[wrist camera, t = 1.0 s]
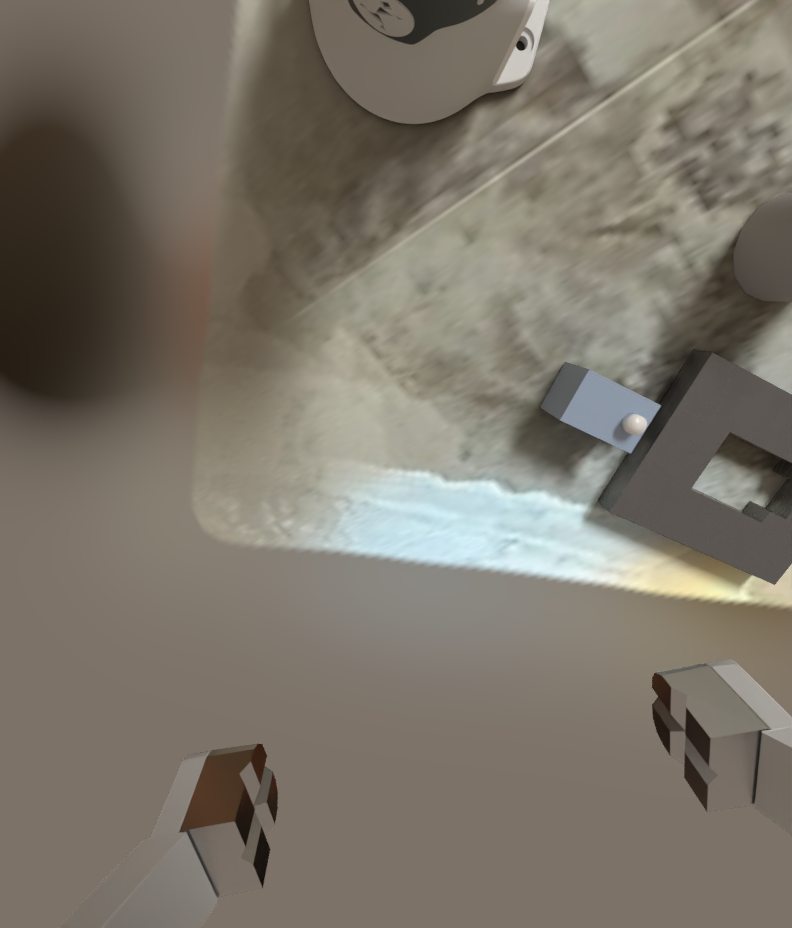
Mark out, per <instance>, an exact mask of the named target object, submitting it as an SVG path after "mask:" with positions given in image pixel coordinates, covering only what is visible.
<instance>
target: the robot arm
mask: <svg viewBox="0 0 792 928" xmlns="http://www.w3.org/2000/svg"><path fill="white" fill-rule="evenodd" d="M549 3H550V0H309V5H310V11H311V17H312V23H313V28H314V32H315V36H316V39H317V42H318V45H319V48H320V51H321V53H322V56H323V58H324V60H325V62H326V64H327V66H328V68H329V70H330V71H331V73H332V75H333V76H334V78H335V79H336V81H337V82H338V83H339V85H340V86H341V87H342V88H343V89H344V91H345V92H346V93H347V94H348V95H349V96H350V97H351V98H352V99H353V100H354V101H356V102H357V103H358V104H359V105H361V106H362V107H363V108H365V109H366V110H368V111H370V112H371V113H373V114H375V115H377V116H379V117H382V118H384V119H387V120H390V121H394V122H398V123H404V124H423V123H429V122H434V121H437V120H441V119H443V118H446V117H448V116H450V115H452V114H454V113H456V112H458V111H459V110H461V109H463V108H464V107H465V106H467V105H468V104H470V103H471V102H472V101H474V100H475V99H477V98H479V97H480V96H482V95H484V94H486V93H493V92H499V91H505V90H509V89H513V88H516V87H518V86H520V85H521V84H523V83H524V82H525V80H526V79H527V77H528V75H529V73H530V71H531V68H532V65H533V62H534V58H535V55H536V51H537V47H538V44H539V40H540V36H541V33H542V29H543V25H544V22H545V18H546V14H547V11H548V7H549ZM518 41H521V42H523V44H524V46H525V50H523V51H520V50H518V49H517V48H516V44H517V42H518ZM652 688H653V689H654V691H655V693H656V694H657V695H658V698H657V699H656V700H655V702H654V703H653V704H652V713H653V720H654V724H655V727H656V731H657V733H658V735H659V738H660V740H661V741H662V743H663V745H664V747H665V749H666V750H667V752H668V753H669V755H670V756H671V757H673V758H674V759H676V760H678V761H679V762H681V763H682V764H684V778H685V779H686V781H687V782H688V784H689V785H690V787H691V788H692V790H693V792H694V793H695V795H696V796H697V798H698V799H699V801H700V802H701V804H702V805H703V807H704V808H705V810H706V811H707V812H711V811H718V810H725V809H733V808H740V807H746V806H754V805H755V807H754V808H755V809H756V810H757V811H759V812H760V813H762V814H763V815H764V816H766V817H767V818H768V819H770V820H771V821H773V822H774V823H775V824H777V825H778V826H779V827H781V828H782V829H784V830H785V831H786V832H788V833H789V834H790V835H792V717H791V716H790V715H789V714H788V713H787V712H786V711H785V710H784V709H783V708H782V707H781V706H780V705H779V704H778V703H777V702H776V701H775V700H774V699H773V698H772V697H771V696H770V695H769V694H767V692H766V691H764V689H762V687H760V686H759V685H758V684H757V683H756V682H755V681H754V680H753V679H752V678H751V677H750V676H749V675H748V674H747V673H746V672H745V671H744V670H743V669H742V668H741V667H740V666H739V665H738V664H737V663H736V662H734V661H732V660H730V659H727V660H721V661H716V662H710V663H705V664H698V665H693V666H688V667H682V668H677V669H672V670H666V671H661V672H656V673H654V675H653V677H652ZM266 758H267V754H266V752H265V749H264V747H263V744H251V745H244V746H238V747H231V748H224V749H217V750H212V751H206V752H200V753H193V754H188V755H187V756H186V758H185V759H184V760H183V761H182V762H181V765H180V767H179V769H178V772H177V774H176V777H175V779H174V781H173V784H172V786H171V789H170V791H169V793H168V796H167V799H166V801H165V803H164V805H163V808H162V810H161V812H160V815H159V817H158V820H157V822H156V824H155V827H154V829H153V832H152V834H151V836H150V838H146V839H142V840H141V841H140V843H138V844H137V845H136V847H134V849H133V850H132V851H131V852H130V853H129V854H128V855H127V856H126V857H125V858H124V859H123V860H122V861H121V862H120V863H119V864H118V865H117V866H116V867H115V868H114V870H113V871H112V872H111V873H110V874H109V875H108V876H107V877H106V878H105V879H104V880H103V881H102V882H101V883H100V884H99V885H98V887H96V888H95V889H94V891H93V892H92V893H91V894H90V895H89V896H88V897H87V898H86V899H85V900H84V901H83V902H82V903H81V904H80V905H79V906H78V908H76V909H75V911H74V912H73V913H72V914H71V915H70V916H69V917H68V918H67V919H66V920H65V921H64V922H63V923H62V924H61V925H60V926H59V927H58V928H201V927H202V925H203V924H204V923H205V921H206V920H207V918H208V916H209V915H210V913H211V912H212V910H213V909H214V907H215V905H216V904H217V902H218V897H223V896H228V895H233V894H238V893H243V892H248V891H252V890H257V889H262V888H263V885H264V879H265V874H266V869H267V864H268V858H269V853H270V847H269V844H268V842H267V839H266V836H267V835H268V833H269V832H270V831H271V829H272V828H273V827H274V825H275V820H276V815H277V809H278V806H277V805H278V790H277V785H276V779H275V776H274V773H273V771H271V770H270V769H268V768H267V767H265V763H266Z"/></svg>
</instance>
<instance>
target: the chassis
mask: <svg viewBox="0 0 792 928" xmlns="http://www.w3.org/2000/svg"><path fill="white" fill-rule="evenodd" d="M659 405H661V407H660V408H659V410H658V411H657V413H656V415H655V416H654V418H653V419H652V421H651V422H650V424H649V426H648V427H647V429H646V430H645V432H644V434H643V435H642V437H641V438H640V440H639V441H638V443H637V445H636V446H635V448H634V449H633V451H632V452H631V454H630V453H628V454H627V456H626V458H625V459H624V461H623V462H622V464H621V465H620V467H619V469H618V470H617V472H616V473H615V475H614V477H613V478H612V480H611V481H610V483H609V484H608V486H607V488H606V489H605V491H604V492H603V494H602V495H601V497H600V499H599V500H598V502H599V503H600V504H601V505H603V506H604V507H605V508H606V509H607V510H608V511H609V512H611V513H613V514H616V515H618V516H620V517H622V518H625V519H627V520H629V521H631V522H634V523H636V524H638V525H641V526H643V527H645V528H647V529H650V530H652V531H654V532H656V533H659V534H661V535H663V536H665V537H668V538H670V539H672V540H675V541H677V542H679V543H681V544H684V545H686V546H688V547H690V548H693V549H695V550H697V551H699V552H702V553H704V554H706V555H709V556H711V557H713V558H715V559H718V560H720V561H722V562H724V563H727V564H729V565H731V566H733V567H736V568H738V569H740V570H743V571H745V572H747V573H749V574H752V575H754V576H756V577H758V578H761V579H763V580H765V581H767V582H770V583H772V584H774V585H775V584H776V583H777V581H778V580H779V579H780V578H781V576H782V575H783V574H784V573H785V571H786V570H787V569H788V567H789V566H790V565H791V564H792V395H791V394H789V393H787V392H786V391H784V390H782V389H780V388H778V387H776V386H774V385H773V384H771V383H769V382H767V381H765V380H763V379H761V378H759V377H758V376H756V375H754V374H752V373H750V372H748V371H746V370H744V369H743V368H741V367H739V366H737V365H735V364H733V363H731V362H730V361H728V360H726V359H724V358H722V357H720V356H718V355H716V354H715V353H713V352H706V351H700V350H693V352H692V353H691V355H690V356H689V358H688V359H687V361H686V363H685V364H684V366H683V367H682V369H681V371H680V372H679V374H678V375H677V377H676V378H675V380H674V382H673V383H672V385H671V386H670V388H669V390H668V391H667V393H666V394H665V396H664V397H663V399H662V401H661V402H660V404H659ZM728 434H730V435H732V436H734V437H736V438H738V439H740V440H742V441H744V442H746V443H748V444H750V445H752V446H754V447H756V448H758V449H760V450H762V451H764V452H766V453H768V454H770V455H772V456H774V457H776V458H778V459H780V462H779V463H778V464H777V466H776V467H775V468H774V470H773V471H774V472H776V473H778V474H780V475H782V476H784V477H786V478H788V480H787V481H786V482H785V484H784V485H783V486H782V488H781V489H780V490H779V492H778V493H777V494H776V496H775V497H774V498H773V500H772V501H771V502H770V504H769V505H768V506H767V508H764V507H761V506H759V505H757V504H755V503H753V502H751V501H750V502H749V504H748V505H747V506H746V508H745V509H744V511H743V512H742V511H740V510H738V509H736V508H734V507H731V506H729V505H727V504H725V503H723V502H721V501H719V500H716V499H714V498H712V497H710V496H708V495H706V494H704V493H702V492H699V491H697V490H695V489H693V488H692V486H693V485H694V484H695V482H696V481H697V479H698V478H699V476H700V475H701V473H702V472H703V470H704V469H705V468H706V466H707V465H708V463H709V462H710V460H711V459H712V457H713V456H714V455H715V453H716V452H717V450H718V449H719V447H720V446H721V444H722V443H723V441H724V440H725V439H726V437H727V436H728Z"/></svg>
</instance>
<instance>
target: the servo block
mask: <svg viewBox="0 0 792 928" xmlns="http://www.w3.org/2000/svg"><path fill="white" fill-rule="evenodd" d="M660 407H661V405H659V404H657V403H655V402H653V401H651V400H649V399H647V398H645V397H643V396H641V395H639V394H637V393H635V392H633V391H631V390H629V389H627V388H625V387H623V386H621V385H619V384H617V383H615V382H613V381H611V380H609V379H607V378H605V377H603V376H601V375H599V374H597V373H595V372H593V371H591V370H589V369H586V368H583V367H580V366H576V365H573V364H570V363H567V362H565V363H564V365H563V367H562V369H561V371H560V372H559V374H558V376H557V378H556V380H555V381H554V383H553V385H552V387H551V389H550V390H549V392H548V394H547V396H546V398H545V399H544V401H543V403H542V405H541V406H540V408H542V409H543V410H545V411H546V412H548V413H549V414H551V415H552V416H554V417H556V418H557V419H559V420H560V421H562V422H565V423H567V424H569V425H571V426H573V427H575V428H577V429H579V430H582V431H584V432H586V433H588V434H590V435H592V436H594V437H596V438H599V439H601V440H603V441H605V442H607V443H609V444H611V445H613V446H616V447H618V448H620V449H622V450H624V451H626V452H628V453H630V454H631V452H632V451H633V449H634V448H635V446H636V445H637V443H638V441H639V440H640V438H641V437H642V435H643V434H644V432H645V430H646V429H647V427H648V426H649V424H650V422H651V421H652V419H653V418H654V416H655V415H656V413H657V411H658V410H659V408H660Z"/></svg>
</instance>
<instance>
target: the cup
mask: <svg viewBox="0 0 792 928" xmlns="http://www.w3.org/2000/svg"><path fill="white" fill-rule="evenodd" d="M733 260H734V273H735V277H736V279H737V281H738V282H739V284H740V285H741V287H742V288H743V290H744V291H745V293H746V294H748V295H751V296H753V297H755V298H757V299H759V300H761V301H792V192H789V193H785V194H781V195H779V196H777V197H776V198H774V199H772V200H770V201H769V202H767V203H765V204H764V205H762V206H760V207H759V208H757V210H756V211H755V212H754V213H753V215H752V216H751V217H750V218H749V220H748V221H747V222H746V223H745V225H744V226H743V227H742V228H741V231H740V234H739V237H738V240H737V243H736V246H735V249H734V252H733Z"/></svg>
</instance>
